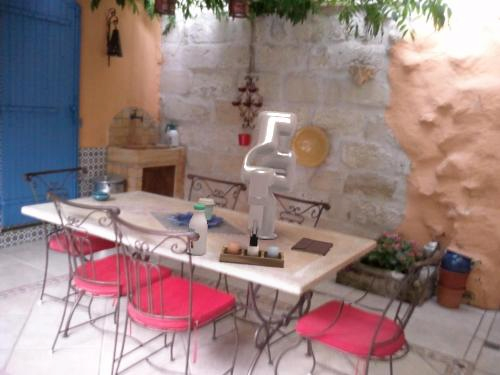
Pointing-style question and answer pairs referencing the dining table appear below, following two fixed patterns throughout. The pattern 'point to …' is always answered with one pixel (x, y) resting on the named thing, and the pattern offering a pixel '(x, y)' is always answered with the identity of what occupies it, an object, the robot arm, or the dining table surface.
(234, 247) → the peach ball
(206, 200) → the coffee cup
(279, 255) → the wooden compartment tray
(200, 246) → the milk bottle
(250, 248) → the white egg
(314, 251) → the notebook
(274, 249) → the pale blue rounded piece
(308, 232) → the dining table surface
